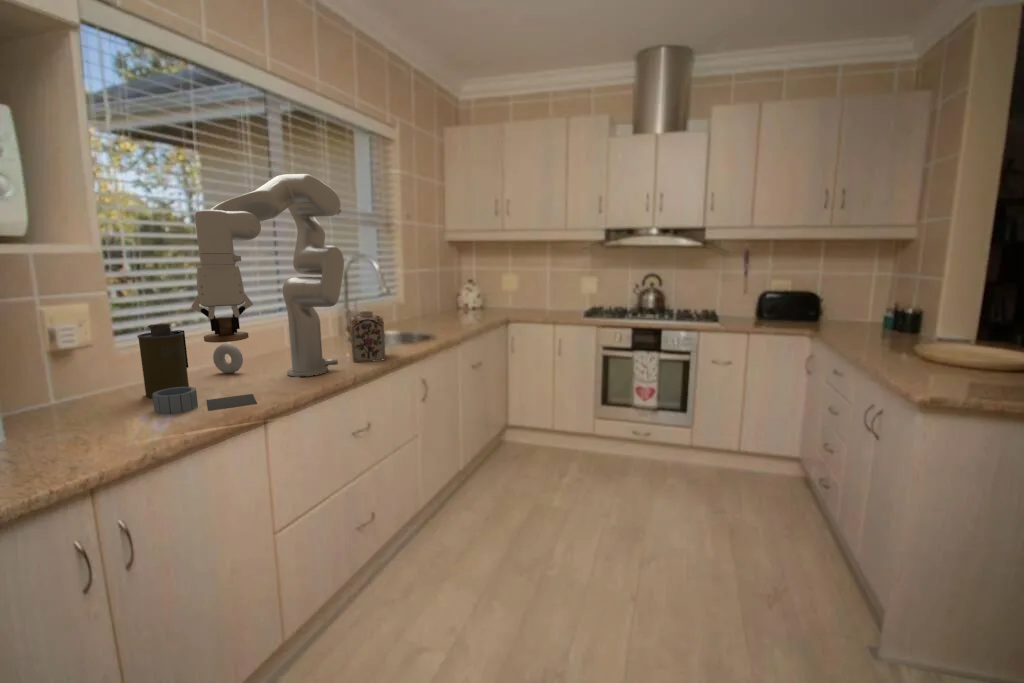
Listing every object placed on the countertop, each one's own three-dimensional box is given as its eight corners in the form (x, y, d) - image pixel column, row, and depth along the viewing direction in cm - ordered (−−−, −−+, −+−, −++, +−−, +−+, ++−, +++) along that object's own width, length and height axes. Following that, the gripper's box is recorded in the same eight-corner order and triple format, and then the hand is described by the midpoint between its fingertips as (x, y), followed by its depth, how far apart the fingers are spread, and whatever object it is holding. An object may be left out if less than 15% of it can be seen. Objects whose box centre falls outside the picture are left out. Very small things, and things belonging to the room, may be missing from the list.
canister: (160, 402, 131) (150, 328, 128) (136, 397, 135) (127, 325, 132) (200, 392, 141) (192, 322, 137) (177, 388, 145) (169, 320, 142)
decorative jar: (352, 362, 180) (349, 313, 177) (351, 356, 191) (349, 310, 188) (386, 360, 184) (384, 312, 181) (383, 354, 195) (381, 309, 191)
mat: (252, 395, 138) (252, 393, 137) (257, 405, 128) (257, 403, 128) (206, 402, 132) (206, 399, 131) (208, 413, 123) (207, 410, 122)
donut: (212, 374, 162) (208, 344, 161) (219, 371, 166) (216, 342, 164) (239, 375, 161) (236, 345, 159) (246, 372, 164) (244, 343, 162)
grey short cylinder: (197, 403, 131) (195, 385, 130) (198, 412, 123) (196, 392, 122) (156, 409, 126) (153, 389, 125) (154, 418, 118) (151, 398, 117)
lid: (246, 333, 134) (244, 313, 133) (250, 339, 126) (248, 318, 125) (203, 337, 129) (200, 316, 128) (204, 344, 121) (201, 321, 120)
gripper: (253, 259, 131) (260, 328, 135) (178, 261, 122) (187, 334, 126) (256, 260, 125) (263, 332, 129) (177, 262, 116) (187, 338, 120)
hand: (226, 332), depth 127 cm, fingers closed on lid, 3 cm apart
